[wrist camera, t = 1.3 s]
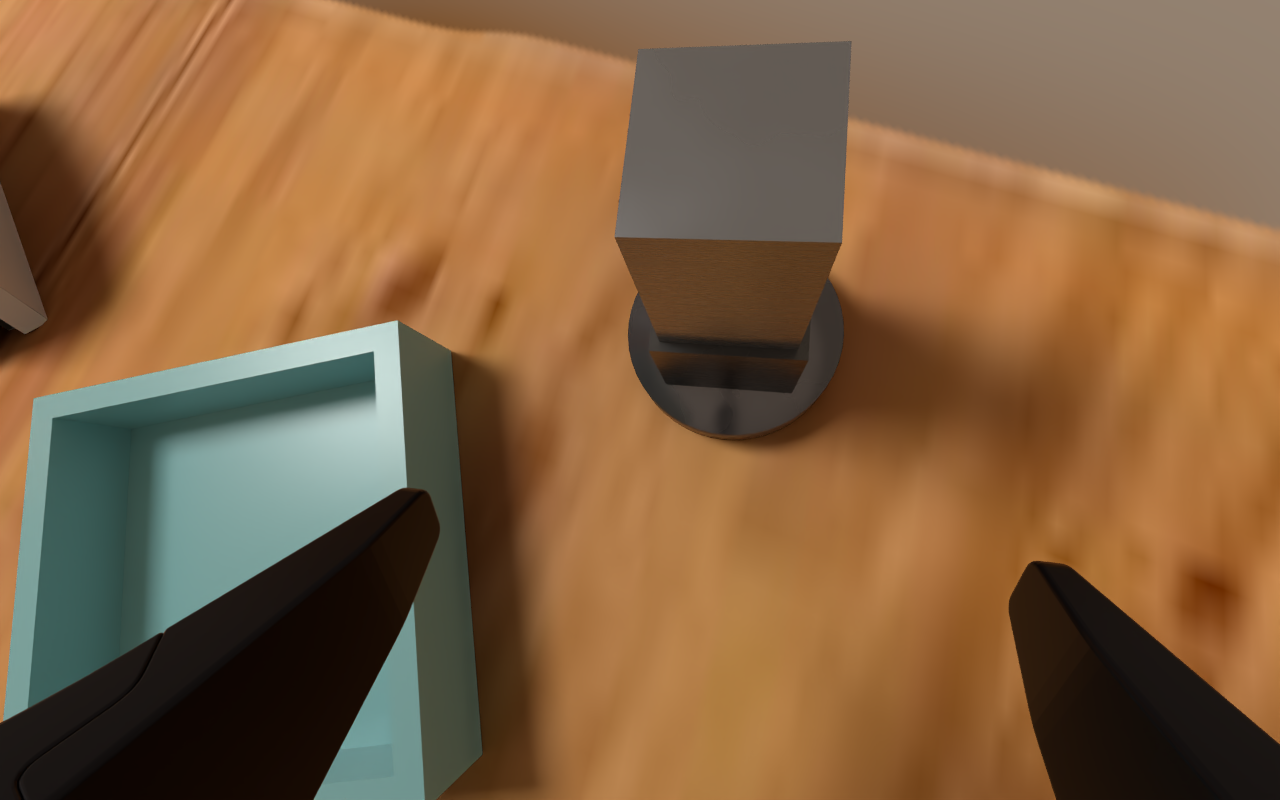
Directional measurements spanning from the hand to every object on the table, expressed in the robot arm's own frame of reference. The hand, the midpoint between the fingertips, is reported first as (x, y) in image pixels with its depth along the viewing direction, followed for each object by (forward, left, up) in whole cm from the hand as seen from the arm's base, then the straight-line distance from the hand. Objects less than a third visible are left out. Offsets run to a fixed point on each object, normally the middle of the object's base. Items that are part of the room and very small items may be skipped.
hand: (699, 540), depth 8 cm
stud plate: (+7, -2, -13) cm, 15 cm away
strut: (+7, -2, -11) cm, 14 cm away
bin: (+1, +18, -13) cm, 22 cm away
